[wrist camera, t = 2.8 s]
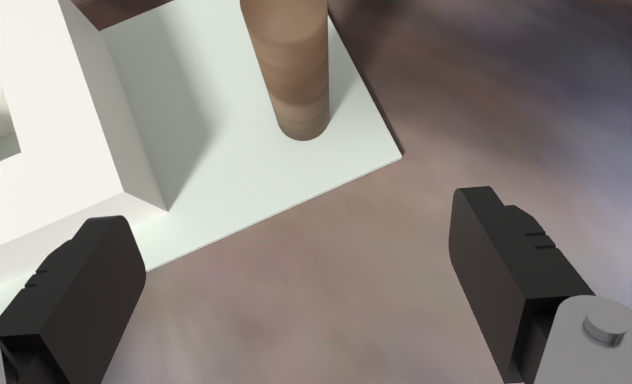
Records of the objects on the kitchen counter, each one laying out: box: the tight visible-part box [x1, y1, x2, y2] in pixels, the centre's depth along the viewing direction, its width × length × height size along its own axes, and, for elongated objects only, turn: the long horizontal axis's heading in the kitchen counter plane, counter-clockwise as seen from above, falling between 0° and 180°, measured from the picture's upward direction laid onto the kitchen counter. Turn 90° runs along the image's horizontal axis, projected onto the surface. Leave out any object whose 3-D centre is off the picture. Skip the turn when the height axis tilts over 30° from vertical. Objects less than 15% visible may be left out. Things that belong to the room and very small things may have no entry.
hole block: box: [0, 0, 168, 286], centre depth 22 cm, size 12×12×5 cm
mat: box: [0, 0, 402, 315], centre depth 24 cm, size 26×15×1 cm, turn 114°
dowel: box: [240, 0, 330, 141], centre depth 19 cm, size 3×3×10 cm
